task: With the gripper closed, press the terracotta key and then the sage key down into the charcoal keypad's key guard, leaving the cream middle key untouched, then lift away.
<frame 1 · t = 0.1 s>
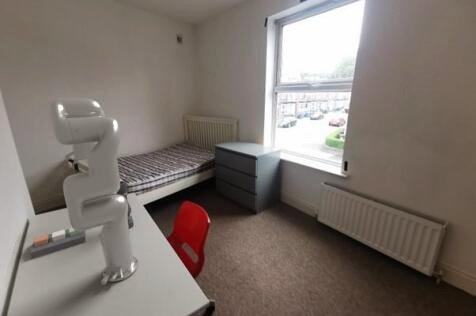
hand: (89, 168, 110), 31 cm above the table, tool pointing down, fingers open, 9 cm apart
cream key: (59, 236, 100), point 4 cm above the table, slide at 0.0 cm
terracotta key: (41, 241, 97), point 4 cm above the table, slide at 0.0 cm
keypad: (61, 242, 101), on the table
sage key: (75, 231, 104), point 4 cm above the table, slide at 0.0 cm
candle holder: (127, 226, 114), on the table
soda can: (121, 213, 128), on the table
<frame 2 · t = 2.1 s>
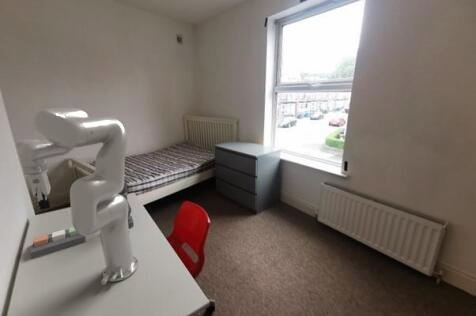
hand: (45, 207, 94), 19 cm above the table, tool pointing down, fingers closed
nothing on the table moved.
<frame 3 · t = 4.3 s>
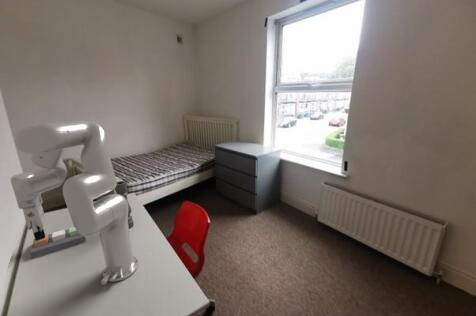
hand: (40, 238, 96), 5 cm above the table, tool pointing down, fingers closed
terracotta key: (41, 241, 97), point 3 cm above the table, slide at 0.2 cm, touching gripper
everything else where it was.
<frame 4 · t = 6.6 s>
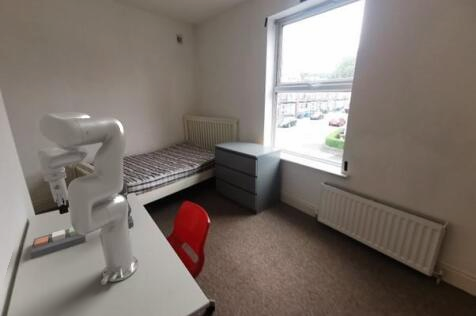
hand: (64, 212, 99), 15 cm above the table, tool pointing down, fingers closed
terracotta key: (42, 243, 97), point 3 cm above the table, slide at 1.0 cm
everything else where it was.
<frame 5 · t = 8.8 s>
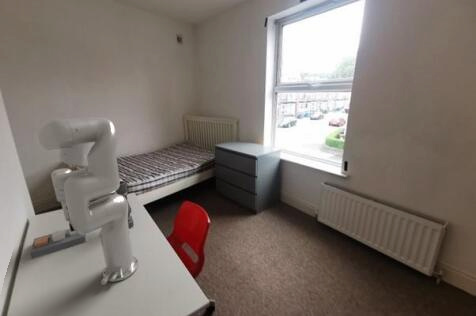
hand: (75, 229, 104), 5 cm above the table, tool pointing down, fingers closed
sage key: (75, 233, 104), point 3 cm above the table, slide at 0.7 cm, touching gripper
everything else where it was.
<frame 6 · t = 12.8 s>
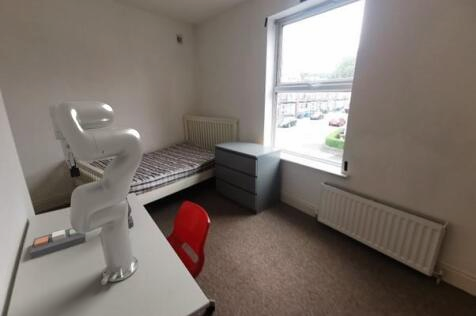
hand: (75, 176, 94), 33 cm above the table, tool pointing down, fingers closed
sage key: (76, 233, 104), point 3 cm above the table, slide at 1.0 cm
everything else where it was.
at the end: terracotta key slide at 1.0 cm; sage key slide at 1.0 cm; cream key slide at 0.0 cm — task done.
